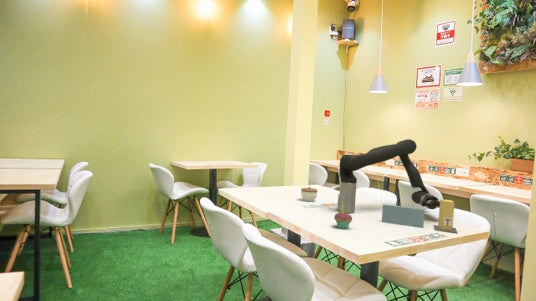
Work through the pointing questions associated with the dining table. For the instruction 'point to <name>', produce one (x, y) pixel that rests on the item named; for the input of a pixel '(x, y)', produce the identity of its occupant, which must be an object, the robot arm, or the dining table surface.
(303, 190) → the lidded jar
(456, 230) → the mat
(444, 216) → the letter block
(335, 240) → the dining table surface
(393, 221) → the screen
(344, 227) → the cupcake
